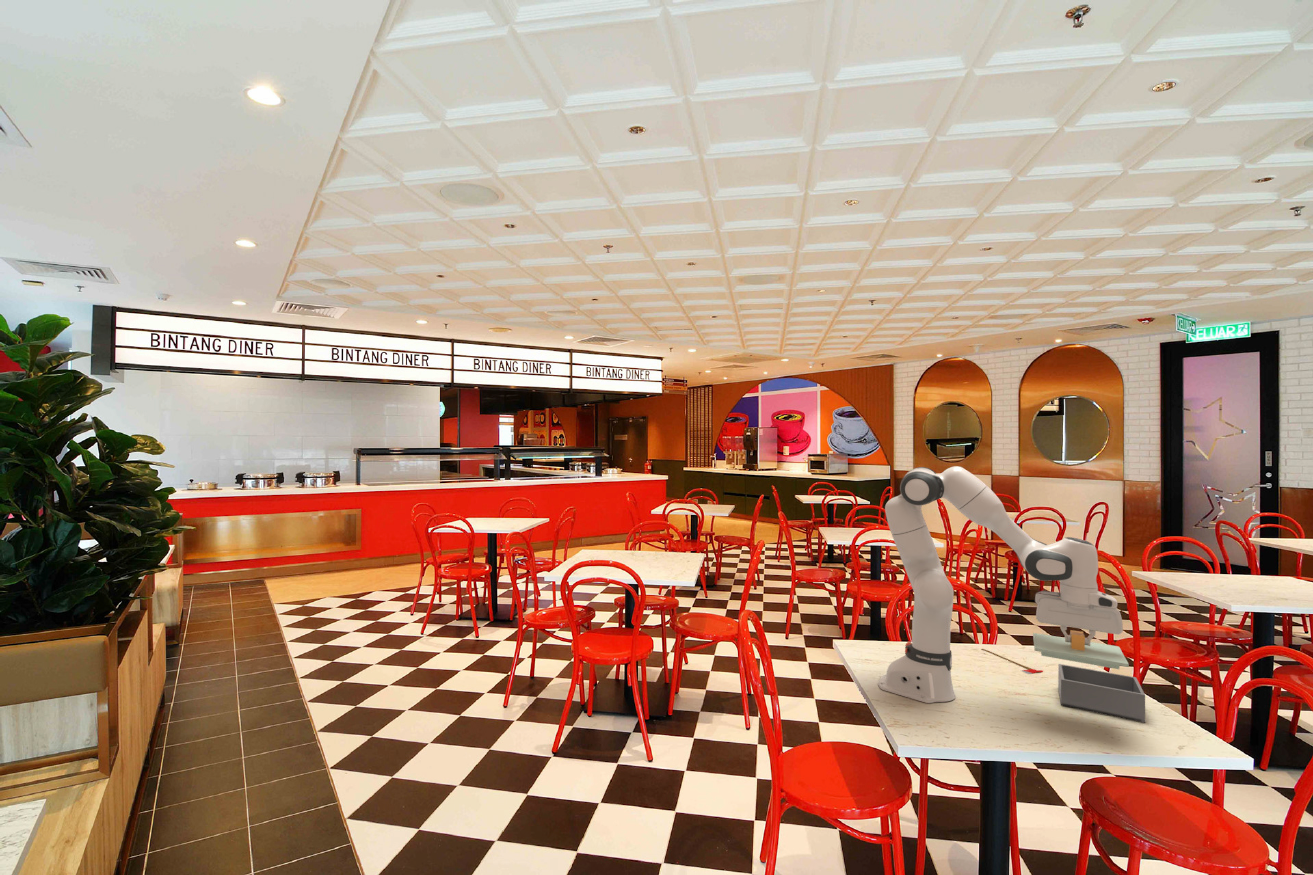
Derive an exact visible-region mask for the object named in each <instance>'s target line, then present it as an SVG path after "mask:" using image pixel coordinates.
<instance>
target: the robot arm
mask: <svg viewBox="0 0 1313 875" xmlns="http://www.w3.org/2000/svg"><path fill="white" fill-rule="evenodd" d="M899 491H900V494H899V495H897V496H894V497H892V498H891V499H888V501H887V502H886V504H885V506H884V511H885V516H886V521H887V525H888V528H889V530H890V533H891V534H890V535H891V536H892V539H893V542H894V544H895V547H896V550H897V552H898V553H899V557H900V560H901V562H902V565H903V567H904V570H905V572H906V575H907V577H908V580H909V583H910V586H911V588H912V590H913V594H914V595H913V596H914V598H913V599H914V600H913V612H912V613H913V615H912V621H911V623H912V625H911V626H912V627H911V629H912V630H911V631H912V632H911V633H912V634H911V636H912V637H911V641H907V642H906V643H905V648H904V655H903V656H901V657H899V658H897V659H895V660H893V661H892V662H891V663H889V665H888V667H887V670H886V673H885V674H884V675H882V676H881V677H879V679H878V687H879V689H880V690H882V691H886V692H889V693H891V694H892V693H893V694H896V695H899V696H902V697H906V698H908V699H912V700H915V701H920V702H922V703H926V704H932V703H939V702H941V703H943V702H945V703H946V702H950V701H953V700H954V699H956V694H955V690H954V686H953V682H952V681H953V680H952V671H951V670H952V666H953V654H952V650H951V625H952V617H953V616H952V615H953V608H954V607H953V606H954V588H953V585H952V584H951V582H950V580H949V579H948V577H947V576H946V573H945V571H944V569H943V566H942V562H941V560H940V558H939V554H938V552H937V548H936V544H935V543H934V541H933V538H932V536H931V535H932V534H931V532H930V531H929V528H928V525H927V523H926V520H925V517H924V515H923V512H922V508H923V506H925V505H928V504H930V503H932V502H935V501H937V500H940V499H942V498H943V499H944V500H946V501H948V502H949V503H950V504H952V506H953V507H955V509H956V510H958V511H959V512H960V513H961V514H962V515H964V517H966V518H967V519H968V520H969V521H971V522H972V523H975V524H976V525H978V526H981V527H983V528H987V529H989V530H990V531H992V532H993V533H995V534H996V535H997V536H998V537H999V538H1000V539H1001V540H1003V542H1004V543H1006V545H1008V546H1009V547H1010V548H1011V549H1012V551H1014V552H1015V554H1016V556H1017V558H1018V561H1019V563H1020V565H1021V566H1022V568H1023V569H1024V570H1025V571H1026V572H1027V573H1028V574H1029V575H1030V576H1031V577H1032V578H1034V579H1036V580H1039V581H1043V582H1054V581H1059V592H1057V591H1047V590H1041V591H1038V592H1036V593H1035V598H1034V602H1035V603H1036V605H1037V606H1036V612H1035V619H1036V620H1037V622H1039V623H1041V624H1049V625H1053V626H1060V630H1061V632H1062V633H1063V635H1064V638H1065V642H1070V643H1071V635H1070V634H1068V633H1067V630H1068V628H1073V629H1079V630H1080V629H1081V630H1086V631H1088V633H1089V634H1088V636H1087V637H1085V645H1087V646H1090V642H1091V641H1092V640H1093V639H1094V637H1095V636H1096V632H1099V633H1104V634H1105V633H1107V634H1113V635H1121V634H1122V633H1123V632H1124V627H1123V618H1122V615H1121V612H1120V610H1119V609H1118V600H1117V599H1116V598H1115V597H1114V596H1113V595H1110V594H1107V593H1104V592H1101V591H1099V587H1098V583H1097V575H1098V572H1099V558H1098V557H1099V556H1098V551H1097V548H1096V546H1095V545H1094V544H1093V543H1091V542H1090V541H1087V540H1084V539H1081V538H1076V537H1073V536H1072V537H1071V536H1067V537H1064V538H1062V539H1061V540H1058V541H1056V542H1054V543H1050V544H1047V543H1044V542H1042V541H1040V540H1037V539H1035V538H1033V537H1031V536H1030V535H1029V534H1028V533H1027V532H1025V530H1023V529H1022V528H1021V527H1020V526H1019V525H1018V524H1017V523H1015V522H1014V520H1013V519H1011V517H1010V516H1009V514H1008V513H1007V511H1006V509H1005V507H1004V504H1003V503H1002V501H1001V499H1000V498H999V497H998V496H997V495H996V493H995V492H994V491H993V490H992V489H991V488H990V487H989V486H988V485H987V484H985V483H984V482H983V481H982V480H981V479H980V478H978V477H977V476H976V475H974V474H973V473H972V472H970V471H969V470H966V469H965V468H964V467H962V466H956V465H954V466H951V467H948V468H947V469H945V470H944V471H943V472H941V473H937V472H936V471H934V469H931V468H929V467H925V466H919V467H914V468H913V469H910V470H909V471H907V472H906V473H905V475H904V476H903V477H902V479H901V482H900V484H899Z"/></svg>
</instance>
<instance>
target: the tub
mask: <svg viewBox="0 0 1313 875" xmlns="http://www.w3.org/2000/svg"><path fill="white" fill-rule="evenodd" d="M1057 669H1058V670H1057V671H1058V674H1057V676H1058V677H1057V678H1058V680H1057V682H1058V683H1057V685H1058V686H1057V688H1058V695H1059V700H1060V701H1059V702H1060V706H1062V707H1066V708H1071V709H1076V710H1081V711H1085V712H1090V713H1094V714H1100V715H1105V716H1109V717H1113V718H1119V719H1124V720H1127V721H1134V722H1138V723H1143V724H1145V723H1146V694H1145V692H1144V690H1143V689H1142V686H1141V684H1140V682H1139V680H1138V679H1137V677H1135V676H1131V675H1125V674H1118V673H1115V672H1107V671H1101V670H1096V669H1091V668H1086V667H1085V668H1084V667H1079V666H1074V665H1073V666H1072V665H1067V664H1062V663H1058V667H1057Z"/></svg>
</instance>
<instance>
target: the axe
mask: <svg viewBox="0 0 1313 875" xmlns="http://www.w3.org/2000/svg"><path fill="white" fill-rule="evenodd" d="M980 650H981V651H985V652H987V653H989V654H992V655H994V656H996V657H999V658H1000V659H1003V660H1005V661H1007V660H1008V661H1007V662H1009V663H1012V664H1015V665H1017V666H1019V667H1022V668H1024V669H1022V670H1021V672H1023V673H1025V674H1027V675H1032V674H1041V673H1043V672H1044V670H1041V669H1040V670H1039V669H1036V668H1031V667H1028V666H1027V665H1023V664H1020V663H1018V662H1016V661H1013V660H1011V659H1008V658H1007V657H1004V656H1001V655H1000V654H996V653H994V652H992V651H990V650H988V649H985V648H981V649H980Z"/></svg>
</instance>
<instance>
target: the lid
mask: <svg viewBox="0 0 1313 875" xmlns="http://www.w3.org/2000/svg"><path fill="white" fill-rule="evenodd" d="M1069 635H1071V643H1070V642H1065V637H1063V636H1062V637H1061V636H1054V635H1050V634H1044V633H1037V632H1032V637H1033V638H1032V639H1033V648H1034V652H1040V655H1041V657H1047V658H1052V659H1059V660H1063V661H1069V662H1076V663H1081V664H1086V665H1087V664H1088V665H1090V666H1091V665H1093V666H1098V667H1104V668H1110V669H1114V670H1120V668H1121V667H1126V668H1129V667H1130V666H1129V665H1130V664H1129V662H1128V660H1127V658H1126V657H1125V655H1124V652H1122V649H1121V648H1120V646H1117V645H1111V644H1105V643H1099V642H1092V641H1090V646H1087V645H1085V638H1086V635H1085V633H1084V631H1078V630H1074V629H1073V630H1071V629H1070V633H1069Z"/></svg>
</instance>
